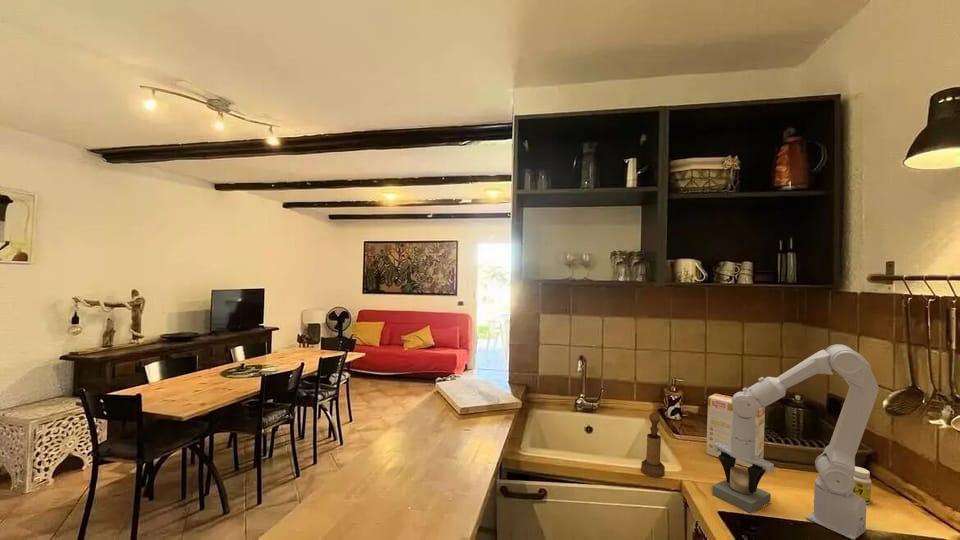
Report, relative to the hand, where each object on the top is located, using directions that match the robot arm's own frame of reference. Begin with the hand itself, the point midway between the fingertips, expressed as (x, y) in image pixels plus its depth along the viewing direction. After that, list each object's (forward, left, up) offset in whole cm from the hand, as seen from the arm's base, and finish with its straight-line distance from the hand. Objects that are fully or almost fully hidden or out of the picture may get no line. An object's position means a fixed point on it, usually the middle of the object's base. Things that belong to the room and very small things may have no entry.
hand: (741, 486), depth 114 cm
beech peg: (0, 0, -3) cm, 3 cm away
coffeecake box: (+14, -23, -3) cm, 27 cm away
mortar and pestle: (+21, +9, -3) cm, 23 cm away
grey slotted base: (0, 0, -3) cm, 3 cm away
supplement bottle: (-16, -29, -3) cm, 33 cm away
